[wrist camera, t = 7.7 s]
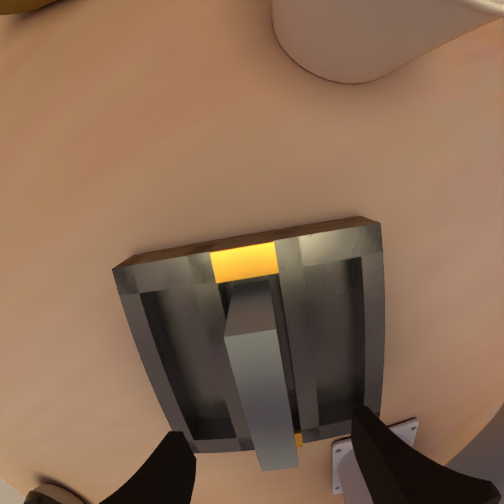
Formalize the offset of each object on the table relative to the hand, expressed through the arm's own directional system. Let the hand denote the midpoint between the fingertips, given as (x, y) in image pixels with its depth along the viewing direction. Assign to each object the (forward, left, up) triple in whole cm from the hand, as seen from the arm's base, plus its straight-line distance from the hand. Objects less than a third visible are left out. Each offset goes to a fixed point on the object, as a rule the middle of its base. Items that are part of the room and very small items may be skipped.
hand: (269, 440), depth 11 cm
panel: (0, 0, -8) cm, 8 cm away
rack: (0, 0, -8) cm, 8 cm away
